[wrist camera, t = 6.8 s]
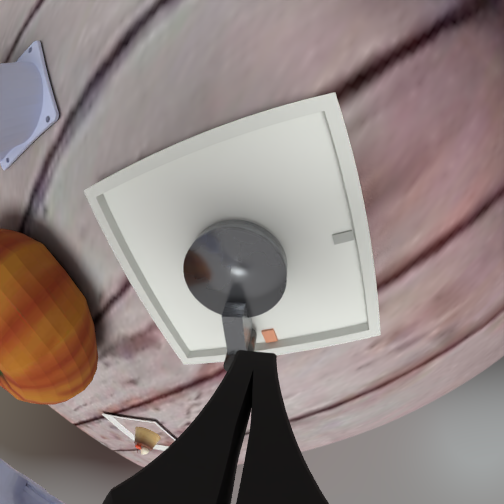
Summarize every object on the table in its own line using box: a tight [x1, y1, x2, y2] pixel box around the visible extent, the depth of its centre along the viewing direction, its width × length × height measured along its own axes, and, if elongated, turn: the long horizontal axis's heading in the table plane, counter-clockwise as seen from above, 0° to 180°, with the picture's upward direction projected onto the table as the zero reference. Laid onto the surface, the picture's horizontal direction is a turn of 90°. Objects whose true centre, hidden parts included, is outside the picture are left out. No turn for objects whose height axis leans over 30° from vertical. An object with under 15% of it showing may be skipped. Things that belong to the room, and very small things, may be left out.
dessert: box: [101, 413, 176, 455], centre depth 36 cm, size 12×12×5 cm
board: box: [84, 92, 380, 365], centre depth 18 cm, size 16×16×2 cm
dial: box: [183, 219, 287, 371], centre depth 17 cm, size 10×6×3 cm, turn 3°
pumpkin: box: [0, 229, 98, 404], centre depth 18 cm, size 19×19×15 cm
